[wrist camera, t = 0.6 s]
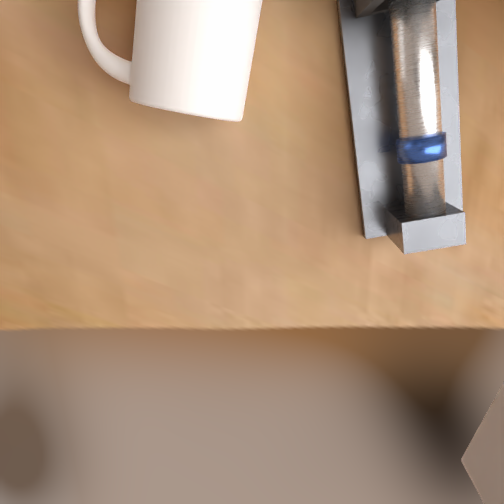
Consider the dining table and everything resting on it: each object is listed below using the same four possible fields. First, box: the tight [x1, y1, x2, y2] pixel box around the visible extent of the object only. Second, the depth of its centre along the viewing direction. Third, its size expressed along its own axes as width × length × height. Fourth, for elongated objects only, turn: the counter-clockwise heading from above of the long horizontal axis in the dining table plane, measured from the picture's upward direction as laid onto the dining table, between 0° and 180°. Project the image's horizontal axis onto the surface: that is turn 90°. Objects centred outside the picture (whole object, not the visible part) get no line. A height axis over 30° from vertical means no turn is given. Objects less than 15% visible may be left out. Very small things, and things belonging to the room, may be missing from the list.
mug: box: [78, 0, 262, 122], centre depth 28 cm, size 12×10×8 cm
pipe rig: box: [337, 0, 466, 254], centre depth 29 cm, size 24×8×6 cm, turn 11°
